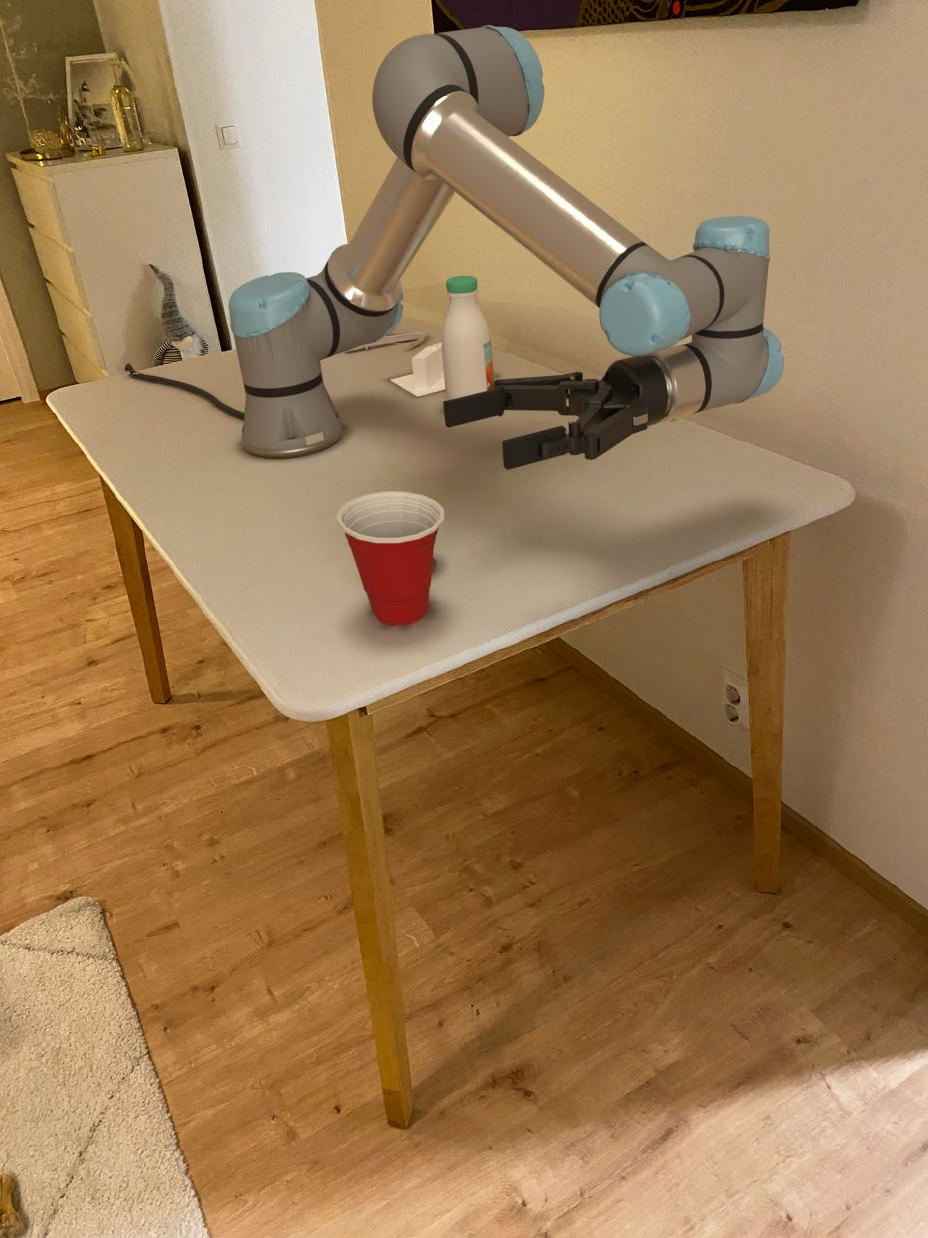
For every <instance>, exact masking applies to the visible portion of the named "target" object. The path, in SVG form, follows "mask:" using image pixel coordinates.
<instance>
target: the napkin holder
mask: <svg viewBox="0 0 928 1238" xmlns="http://www.w3.org/2000/svg"><path fill="white" fill-rule="evenodd" d="M411 365H412V373H411V374H408V375H403V376H399V377H395V378H391V379H390V381H391V382H392V383H394V384H395V385H397V386H398V387H401V388H402V389H403V390H405V391H407V392H409V393H410V394H412V395H414V396H415V397H417V398H418V397H422V396H425V395H430V394H435V393H437V392H441V391H445V382H444V370H443V358H442V343H441V341H439V342H438V343H434V344H433V345H428V346H426V347H424V348H423V349H422V350H421V351H419V352H418V353H417V354H416V355H414V356H413V357H411Z"/></svg>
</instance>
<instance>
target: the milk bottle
mask: <svg viewBox="0 0 928 1238" xmlns="http://www.w3.org/2000/svg"><path fill="white" fill-rule="evenodd" d="M445 285H446V291H447V292H446V296H448V306H447V310H446V314H445V317H444V320H443V323H442V327H441V335H440V337H441V338H440V339H441V341H440V342H441V343H442V358H443V370H444V382H445V390H444V391H445V393H444V394H445V401H447V400H451V399H455V398H459V397H464V396H468V395H472V394H476V393H480V392H485V391H489V390H493V389H494V381H495V376H494V362H493V348H492V347H493V346H492V338H491V330H490V327H489V324H488V322H487V319H486V317H485V315H484V313H483V311H482V308H481V307H480V305H479V301H478V298H477V294H478V292H479V291H478V279H477V277H475V276H473V275H457V276H452V277H449V278H448V279H446V283H445Z"/></svg>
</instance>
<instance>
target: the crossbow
mask: <svg viewBox="0 0 928 1238" xmlns="http://www.w3.org/2000/svg"><path fill="white" fill-rule="evenodd" d="M390 334H393V335H387V336H385V337H383V338H382V339H380V340H377V341H376V342H374V343H371V344H365V345H362V346H359V347H356V348H353V349H350V350H347V351H346V352H350V351H354V350H359V349H362V348H364V349H365V350H367V351H368V348H370V346H374V345H382V344H391V343H394V344H396V345H401V343H400V342H405V341H413V340H414V341H413V342H411V343H405V345H407V349H408V350H410V349H412V348H414V347H416V346H418V345H420V344H421V343H423V342H425V340H426V333H424V331H423V332H422V331H416V330H408V329H407V330H406V329H394V330H393V331H392V332H391V333H390Z"/></svg>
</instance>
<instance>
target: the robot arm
mask: <svg viewBox="0 0 928 1238" xmlns="http://www.w3.org/2000/svg"><path fill="white" fill-rule="evenodd" d="M543 77H544V72H543V67H542V65H541V61H540V58H539V56H538V54H537V52H536V50H535V48H534V47H533V44H531V42H530V41H529V40H528V38H527V37H525V36H524V35H523V34H522V33H521V32H520V31H518V30H516V29H515V28H512V27H507V26H494V25H491V24H488V25H483V26H481V27H475V28H466V29H460V30H451V31H445V32H436V33H425V34H418V35H413V36H410V37H408V38H406V39H404V40H402V41H400V42H399V43H397V44H396V45H395V46H394V47H392V49H391V50H389V52H388V53H387V54H386V55H385V56H384V58H383V60H382V61H381V63H380V65H379V67H378V69H377V72H376V74H375V77H374V80H373V87H372V94H371V97H372V98H371V99H372V100H371V101H372V112H373V116H374V121H375V123H376V126H377V129H378V131H379V133H380V136H381V137H382V139H383V141H384V143H385V144H386V145H387V146H388V148H389V149H390V151H391V152H392V153H393V154H394V155H395V156H396V158H395V160H394V162H393V164H392V166H391V168H390V169H389V171H388V173H387V175H386V177H385V178H384V180H383V182H382V183H381V185H380V188H379V189H378V190H377V193H376V194H375V196H374V198H373V200H372V202H371V204H370V205H369V206H368V209H367V211H366V212H365V215H364V216H363V217H362V220H361V222H360V224H359V225H358V227H357V229H356V230H355V232H354V234H353V236H352V238H351V240H350V242H349V243H346V244H342V245H340V246H338V247H336V248H335V249H334V250H333V251H332V252H331V254H330V256H329V257H328V259H327V261H326V263H325V265H324V267H323V268H322V270H321V271H320V272H319V273H318V274H316V275H312V276H310V277H305V275H303V274H301V273H300V272H293V271H283V272H276V273H273V274H271V275H268V274H267V275H263V276H260V277H257V278H254V279H251V280H249V281H247V282H245V283H243V284H241V285H240V286H239V287H237V288H236V289H234V291H232V293H231V295H230V298H229V300H228V310H229V321H230V323H229V326H230V330H231V332H232V335H233V340H234V345H235V350H236V355H237V360H238V364H239V369H240V374H241V378H242V383H243V389H244V394H245V403H244V412H242V411H240V410H237V409H235V408H233V407H232V406H229V405H227V404H225V403H223V402H222V401H221V400H219V399H218V398H217V397H216V396H214V395H213V394H211V392H208V391H206V390H204V389H203V388H200V387H198V386H195V385H193V384H190V383H187V382H184V381H179V380H175V379H171V378H167V377H162V376H157V375H151V374H146V373H141V372H138V371H136V370H135V369H134V367H133V365H132V364H130V363H126V364H125V367H124V371H125V372H129V374H130V375H132V376H133V377H135V378H137V379H139V380H145V381H149V382H150V381H151V382H156V383H161V384H165V385H170V386H174V387H179V388H182V389H185V390H188V391H191V392H194V393H195V394H198V395H200V396H203V397H204V398H206V399H208V400H209V401H210V402H212V404H214V405H216V407H218V408H219V409H220V410H223V411H224V412H226V413H228V414H230V415H232V416H235V417H237V418H239V419H242V420H243V421H244V422H243V425H242V427H241V440H242V444H243V448H244V449H245V451H247V452H248V453H250V454H252V455H255V456H257V457H263V458H272V459H273V458H275V459H276V458H279V459H281V458H293V457H299V456H304V455H310V454H313V453H316V452H320V451H322V450H324V449H327V448H329V447H331V446H333V445H334V444H336V443H337V442H338V441H340V440H341V438H342V437H343V434H344V428H343V423H342V418H341V416H340V414H339V413H338V411H337V410H336V408H335V405H334V402H333V400H332V399H331V397H330V394H329V392H328V390H327V389H326V386H325V384H324V379H323V371H322V366H321V361H323V360H325V359H328V358H330V357H333V356H336V355H339V354H342V353H344V352H348V351H347V350H350V349H353V348H356V347H359V346H362V345H365V344H371V343H374V342H376V341H377V340H380V339H382V338H383V337H385V336H389V335H390V334H391V332H392V331H393V330H396V328H397V327H398V325H399V324H400V321H401V319H402V316H403V312H404V305H402V301H404V292H403V285H402V281H401V278H402V277H403V275H404V274H405V272H406V271H407V269H408V267H409V266H410V264H411V263H412V261H413V260H414V258H415V257H416V255H417V253H418V252H419V250H420V249H421V247H422V245H424V242H425V241H426V239H427V238H428V237H429V235H430V233H431V232H432V230H433V229H434V227H435V225H436V224H437V222H438V221H439V219H440V217H441V216H442V214H443V213H444V211H445V210H446V209H447V207H448V205H449V204H450V202H451V200H452V199H453V197H455V196H454V195H455V194H457V195H458V196H459V197H461V198H462V199H463V200H464V201H466V202H467V203H468V204H469V205H470V206H471V207H473V208H474V209H476V210H477V212H480V214H482V215H483V216H484V217H485V218H487V219H488V220H489V221H490V222H491V223H493V224H494V225H495V226H497V227H498V229H500V230H502V231H503V232H504V233H505V234H507V235H508V236H509V237H510V238H512V239H513V240H514V241H515V242H516V243H518V244H519V245H520V246H521V247H523V248H524V249H525V250H527V251H528V252H529V253H530V254H531V255H532V256H534V257H535V258H536V259H537V260H539V261H540V262H541V263H543V264H544V265H545V266H546V267H548V269H550V270H551V271H552V272H554V274H556V275H558V276H559V278H561V279H562V280H563V281H564V282H566V283H567V284H569V285H570V286H571V287H572V288H573V289H575V290H576V291H578V293H580V294H581V295H582V296H584V297H585V298H586V299H587V300H588V301H589V302H591V303H592V304H593V305H595V306H596V307H597V308H598V309H599V310H598V316H599V324H600V327H601V331H603V332H604V334H605V336H606V338H607V342H608V343H609V344H610V345H611V346H612V348H613V349H615V350H616V351H617V352H619V353H621V354H623V355H626V356H629V357H625V358H621V359H617V360H615V361H613V362H612V363H611V364H610V365H609V366H608V367H607V370H606V371H605V373H604V375H603V377H602V378H601V379H598V378H584V373H583V372H582V371H574V372H570V373H564V374H563V373H562V374H556V375H542V376H541V375H539V376H528V377H526V376H525V377H514V378H513V377H512V378H498V379H494V389H493V390H489V391H485V392H480V393H476V394H472V395H468V396H464V397H459V398H455V399H451V400H447V401H446V400H444V401H442V403H443V405H442V406H443V413H444V424H445V427H446V428H449V429H450V428H454V427H457V426H461V425H466V424H470V423H474V422H478V421H482V420H486V419H489V418H493V417H500V418H501V417H503V416H504V414H505V411H528V412H529V411H530V412H531V411H533V412H535V411H537V412H545V411H546V412H557V414H558V415H559V416H565V417H567V416H568V417H569V416H573V417H578V418H577V419H576V421H571V422H570V421H568V433H567V428H566V427H565V426H564V425H558V426H554V427H550V428H547V429H543V430H538V431H535V432H532V433H531V432H530V433H527V434H524V435H520V436H515V437H511V438H508V439H504V440H502V441H501V445H502V462H503V468H504V469H505V470H507V471H509V470H513V469H516V468H520V467H524V466H527V465H531V464H535V463H539V462H542V461H543V462H544V461H546V460H550V459H553V458H557V457H560V456H564V455H567V454H569V455H571V456H579V455H581V454H584V459H585V460H588V461H593V460H595V459H596V460H597V459H598V458H599V457H601V456H603V454H605V453H607V452H608V451H609V450H611V449H613V448H614V447H616V446H617V445H619V444H620V443H622V442H623V441H625V440H627V438H629V437H631V436H633V435H635V434H637V433H640V432H643V431H646V430H648V427H650V426H654V425H657V424H659V423H663V422H667V421H668V422H669V423H674V422H676V421H677V419H680V418H683V417H687V416H690V415H693V414H699V413H700V412H704V411H708V410H712V409H713V410H714V409H716V408H721V407H724V406H729V405H733V404H734V405H735V404H742V403H745V402H747V401H749V400H752V399H754V398H757V397H760V396H762V395H764V394H767V393H769V392H770V391H772V390H773V389H774V388H775V387H776V386H778V384H779V382H780V381H781V379H782V375H783V373H784V368H785V356H784V355H783V354H782V351H781V349H782V345H781V342H780V339H779V338H778V337H777V335H776V334H775V333H774V332H773V331H771V330H770V329H768V328H766V327H765V326H764V319H765V308H766V299H767V297H766V296H767V287H768V279H769V278H768V276H769V267H770V266H769V265H770V262H771V256H770V227H769V225H768V223H767V222H766V221H764V220H763V219H761V218H758V217H754V216H745V215H744V216H742V215H733V216H732V215H731V216H720V217H714V218H708V219H706V220H704V221H702V222H701V223H699V225H698V227H697V228H696V230H695V235H694V242H693V244H692V250H693V251H692V252H689V253H687V254H684V255H681V256H679V257H677V258H675V259H668V258H666V257H665V256H664V255H662V254H661V253H660V252H659V251H657V250H656V249H655V248H653V247H652V246H650V245H649V244H648V243H647V242H644V240H642V239H640V237H638V236H637V235H635V234H634V233H633V232H632V231H630V230H629V229H628V228H626V226H624V225H623V224H622V223H620V222H619V221H618V220H616V219H615V218H614V217H612V216H611V215H610V214H609V213H608V212H606V211H605V210H604V209H602V208H600V207H599V206H598V205H597V204H596V203H594V202H593V201H592V200H590V199H589V198H588V197H586V196H585V195H584V194H582V193H581V192H580V191H579V190H578V189H576V188H575V187H574V186H572V184H570V183H568V182H567V181H566V180H565V179H564V178H562V177H561V176H560V175H558V174H557V173H555V171H553V170H552V169H550V168H549V167H547V166H546V165H545V164H544V163H543V162H541V161H540V160H539V159H537V157H535V156H533V155H532V154H531V153H530V152H529V151H527V150H526V149H524V148H523V147H522V146H521V145H519V144H518V143H517V142H516V141H514V140H513V139H512V138H510V137H519V136H521V135H522V134H524V133H525V132H527V131H528V130H530V129H531V128H532V127H533V126H534V125H535V124H536V122H537V121H538V119H539V117H540V114H541V112H542V109H543V106H544V100H545V85H544V83H543ZM690 336H691V341H690V342H688V343H683V344H678V343H679V342H680V341H683V340H684V339H686V338H688V337H690ZM133 373H139V374H133ZM144 374H145V375H144Z"/></svg>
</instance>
